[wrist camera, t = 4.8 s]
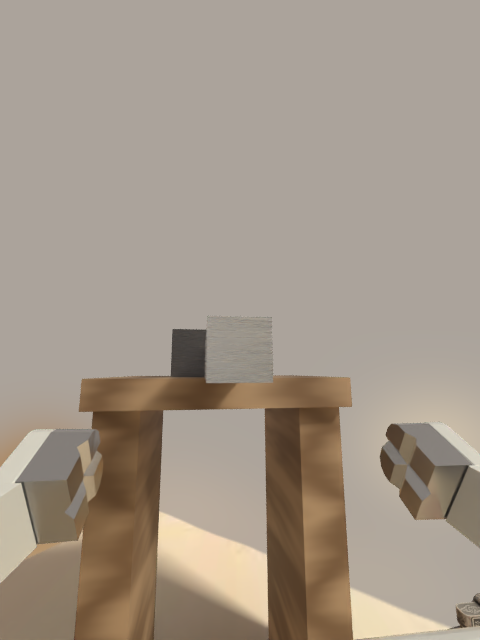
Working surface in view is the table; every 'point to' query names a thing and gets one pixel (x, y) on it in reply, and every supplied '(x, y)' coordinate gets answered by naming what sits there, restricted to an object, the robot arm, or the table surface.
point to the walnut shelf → (281, 496)
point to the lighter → (468, 613)
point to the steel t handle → (225, 351)
